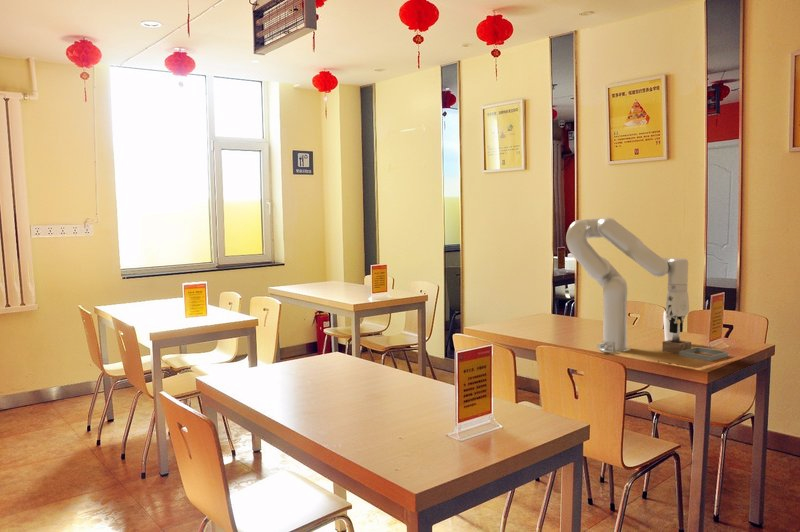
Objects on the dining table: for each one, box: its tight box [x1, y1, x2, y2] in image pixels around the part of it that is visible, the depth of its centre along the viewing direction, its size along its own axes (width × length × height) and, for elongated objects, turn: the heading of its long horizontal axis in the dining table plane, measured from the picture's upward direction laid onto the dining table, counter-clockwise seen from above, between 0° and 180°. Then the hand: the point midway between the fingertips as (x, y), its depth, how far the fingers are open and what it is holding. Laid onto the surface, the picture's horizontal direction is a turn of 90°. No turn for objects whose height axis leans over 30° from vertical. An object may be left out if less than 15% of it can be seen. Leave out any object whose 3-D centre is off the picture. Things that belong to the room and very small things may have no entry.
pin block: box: [661, 339, 692, 355], centre depth 266 cm, size 8×8×5 cm
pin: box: [672, 318, 681, 343], centre depth 265 cm, size 3×3×12 cm
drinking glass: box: [662, 310, 675, 341], centre depth 282 cm, size 7×7×15 cm
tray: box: [678, 346, 729, 362], centre depth 256 cm, size 13×13×3 cm
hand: (676, 331), depth 265 cm, fingers closed on pin, 3 cm apart
